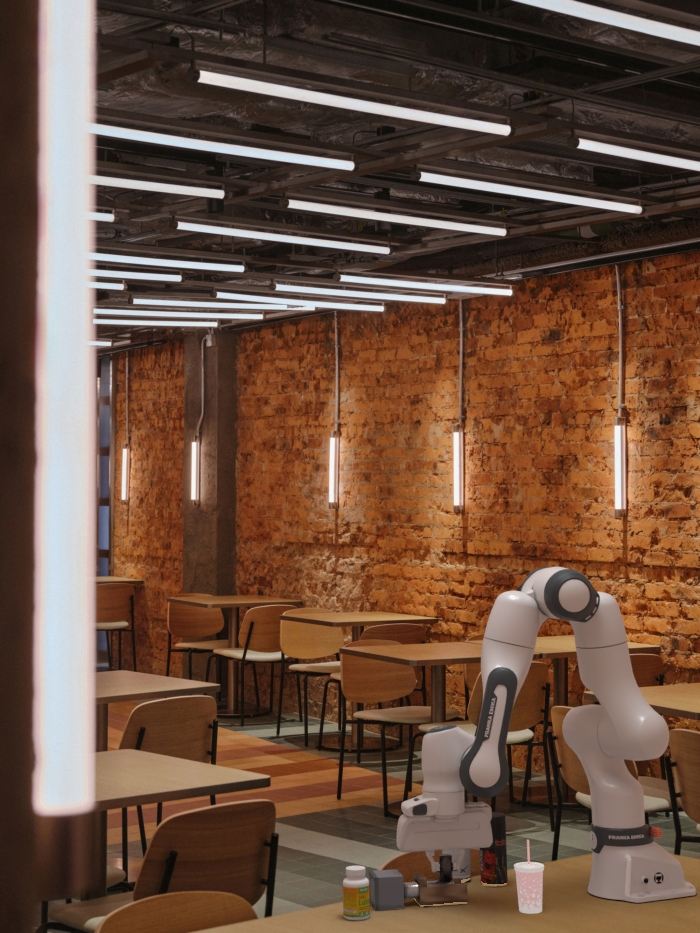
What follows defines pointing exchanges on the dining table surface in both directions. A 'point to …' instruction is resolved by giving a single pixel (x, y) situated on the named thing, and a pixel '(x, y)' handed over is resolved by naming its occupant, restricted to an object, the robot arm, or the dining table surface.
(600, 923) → the dining table surface
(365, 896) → the supplement bottle
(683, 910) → the dining table surface
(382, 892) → the socket block
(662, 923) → the dining table surface
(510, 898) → the dining table surface
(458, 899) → the guide channel
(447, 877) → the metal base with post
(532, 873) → the beverage cup
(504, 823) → the deodorant
